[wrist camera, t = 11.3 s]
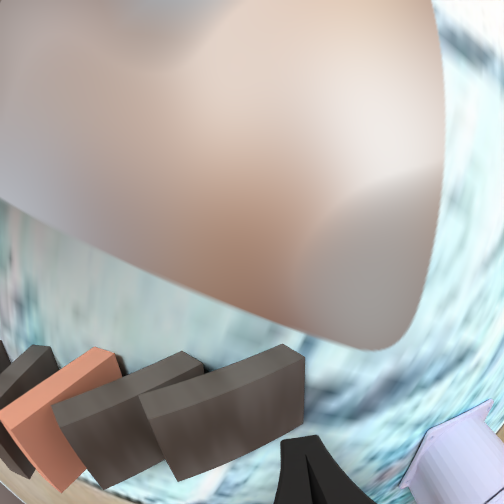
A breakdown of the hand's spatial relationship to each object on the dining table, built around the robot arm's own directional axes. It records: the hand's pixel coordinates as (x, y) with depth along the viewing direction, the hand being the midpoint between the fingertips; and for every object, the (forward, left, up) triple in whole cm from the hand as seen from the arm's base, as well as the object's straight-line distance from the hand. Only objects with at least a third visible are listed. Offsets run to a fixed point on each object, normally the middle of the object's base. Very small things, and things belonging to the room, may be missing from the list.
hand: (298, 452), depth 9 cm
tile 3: (0, +14, -5) cm, 15 cm away
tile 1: (0, -1, -4) cm, 4 cm away
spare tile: (0, +9, -5) cm, 10 cm away
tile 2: (0, +4, -4) cm, 6 cm away
